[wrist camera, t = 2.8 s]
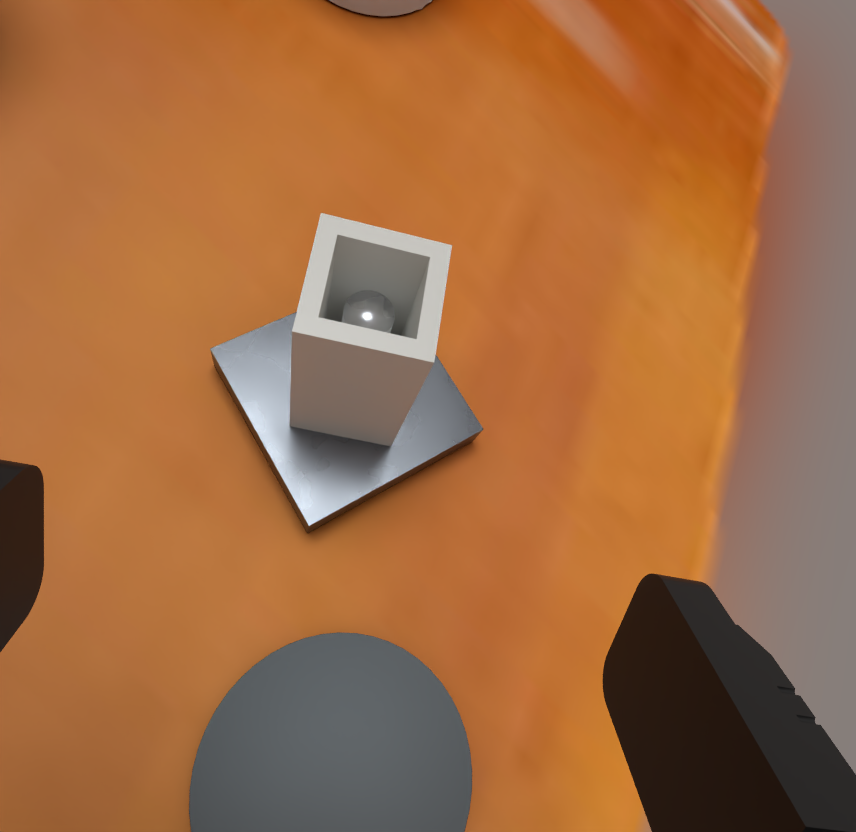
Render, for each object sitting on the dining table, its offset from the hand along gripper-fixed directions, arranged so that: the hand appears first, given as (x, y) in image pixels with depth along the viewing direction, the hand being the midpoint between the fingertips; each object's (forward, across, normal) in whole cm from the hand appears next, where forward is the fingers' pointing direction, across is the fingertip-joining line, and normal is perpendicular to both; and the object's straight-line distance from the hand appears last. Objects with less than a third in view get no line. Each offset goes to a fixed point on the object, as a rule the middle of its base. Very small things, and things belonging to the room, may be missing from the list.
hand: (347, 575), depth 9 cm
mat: (+12, -2, +20) cm, 24 cm away
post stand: (+25, 0, +8) cm, 26 cm away
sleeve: (+23, 0, +7) cm, 24 cm away
